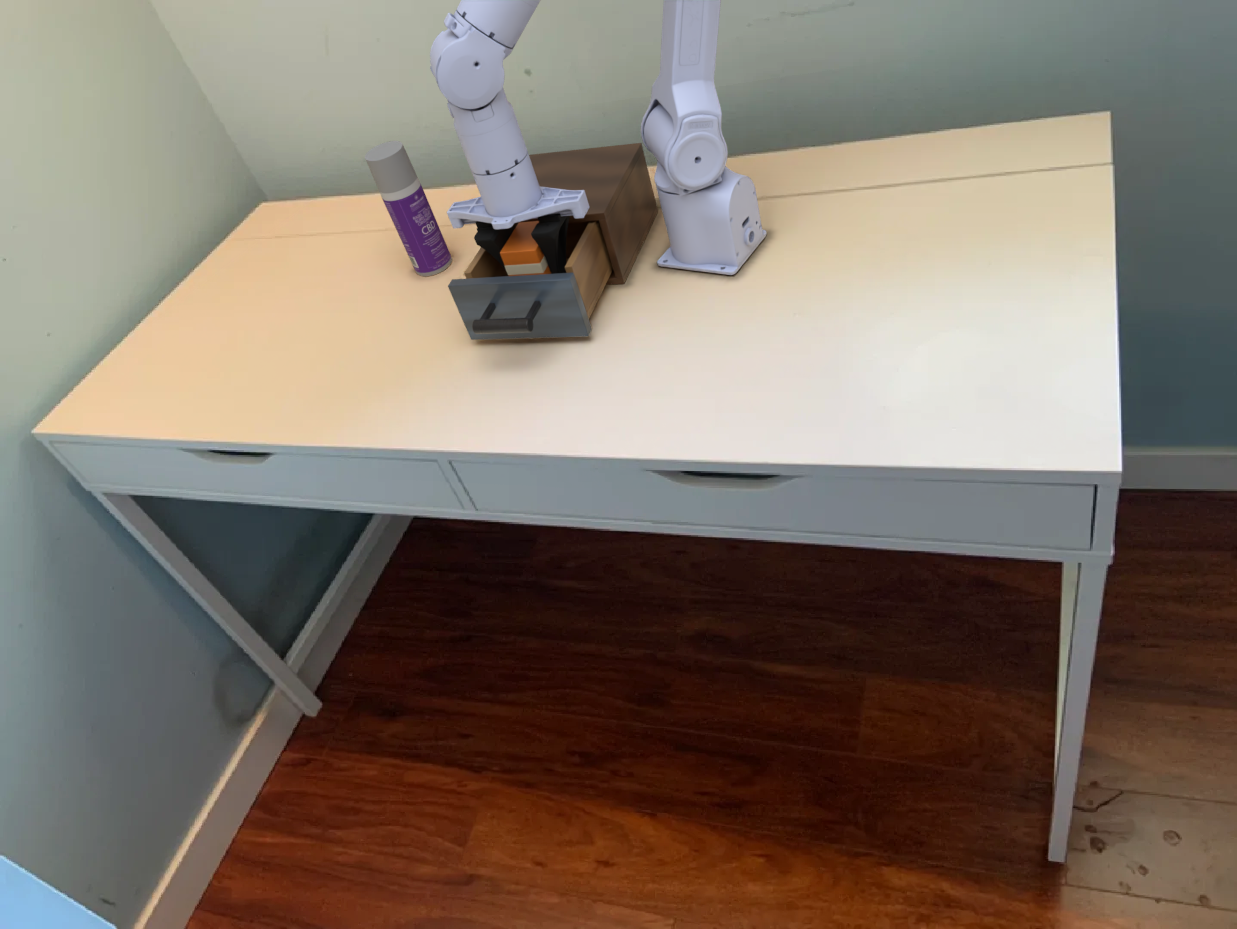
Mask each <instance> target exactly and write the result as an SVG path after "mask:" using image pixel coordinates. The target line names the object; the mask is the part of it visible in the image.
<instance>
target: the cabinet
mask: <svg viewBox="0 0 1237 929" xmlns="http://www.w3.org/2000/svg"><path fill="white" fill-rule="evenodd" d="M529 157H530V160H531V163H532V166H533V169H534V172H535V175H536V178H537V180H538V183H539V186H540V187H548V188H556V189H563V190H585V194H586V197H587V200H588V204H589V209H588V211H587V213H586V214H585V216H584V218H577V219H576V218H574V216H573V215H571V216H570V218H569V223H570V222H583V221H596V220H599V222H600V226H601V229H602V232H603V236H604V239H605V243H606V246H607V249H608V253H609V256H610V260H611V263H612V266H613V270H612V273H611V275H610V277H609V279H608V281H607V283H606V285H605V286H607V285H624V284H625V283H626V281H627V279H628V278H629V274H630V272H631V270H632V269H633V266H634V264H635V261H636V260H637V258H638V255H639V254H640V252H641V249H642V247H643V244H644V242H645V240H646V239H647V236H648V234H649V232H650V229H651V228H652V225H653V224H654V221H655V219H656V217H657V214H658V213H659V209H658V206H657V200H656V197H655V196H656V195H655V193H654V188H653V185H652V181H651V176H650V172H649V168H648V164H647V160H646V157H645V152H644V147H643V142H635V143H625V144H616V145H606V146H598V147H587V148H580V149H579V148H578V149H569V150H561V151H551V152H541V153H533V154H529ZM532 221H539V220H538V218H535V219H529V220H525V221H521V222H532ZM518 223H520V222H517V223H515V227H516V226H517V225H518Z"/></svg>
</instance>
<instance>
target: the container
mask: <svg viewBox="0 0 1237 929" xmlns="http://www.w3.org/2000/svg"><path fill="white" fill-rule="evenodd" d="M364 159H365V162H366V164H367V166H368V169H369V171H370V174H371V176H372V178H373V181H374V183H375V185H376V187H377V190H378V193H379V195H380V197H381V199H382V201H383V204H384V206H385V208H386V211H387V212H388V214H389V217H390V219H391V222H392V224H393V226H394V228H395V230H396V232H397V234H398V237H399V238H400V240H401V243H402V245H403V247H404V250H405V251H406V255H407V257H408V258H409V260H410V262H411V265H412V267H413V269H414V271H415V273H416V274H417V275H418V276H420V277H432V276H435V275H437V274H440V273H442V272H444V271H445V270H447V269H448V268H449V267H450V266H451V264H452V263H453V257H452V254H451V253H450V250H449V248H448V245H447V243H446V241H445V238H444V236H443V233H442V231H441V228H440V226H439V224H438V221H437V219H436V216H435V214H434V212H433V209H432V206H431V204H430V202H429V200H428V197H427V195H426V192H425V191H424V188H423V186H422V184H421V181H420V178H419V176H418V175H417V173H416V171H415V168H414V166H413V164H412V161H411V159H410V157H409V155H408V153H407V150H406V148H405V146H404V144H403V142H402V141H399V140H390V141H386V142H385V141H384V142H382V143H380V144H378V145H376V146H373V147H372V148H371V149H369V150H368V151H367V152H366V153H365V155H364Z"/></svg>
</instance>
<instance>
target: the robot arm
mask: <svg viewBox="0 0 1237 929" xmlns="http://www.w3.org/2000/svg"><path fill="white" fill-rule="evenodd" d="M541 1H542V0H460V1H459V4H458V5H457V7H456V10H455V11H454V13H451V12H448V13H447V14H446V16H445V18H444V20H443V24H444V26H445V27H446V29H445V30H442V31H441V32H439V33H438V34H437V36H436V37H435V39H433V42H432V44H431V46H430V52H429V58H430V59H429V63H430V67H429V70H430V72H431V73H432V75H433V78H434V79H435V81H436V84H437V87H438V89H439V91H440V93H441V94H442V95H443V97H444V98H445V99H446V100H447V103H446V104H447V105H446V106H447V109H448V112H449V114H450V116H451V118H452V119H453V128H454V131H455V133H456V136H457V138H458V140H459V143H460V146H461V149H462V151H463V155H464V156H465V159H466V162H467V165H468V168H469V170H470V172H471V175H472V178H473V180H474V183H475V185H476V187H477V190H478V193H479V195H480V196H477V197H474V198H469V199H466V200H460V201H454V202H453V203H452V204H451V206H450V207H449V208H448V209H447V211H446V215H447V217H448V219H449V222H450V225H451V227H452V229H462V228H463V227H464V226H465V225H473V224H474V225H475V226H476V233H475V234H474V236H473V239H474V241H475V244H476V245H477V246H479V248H481V247H482V248H483V249H484V250H486V251H487V252H488V253H490V254H491V255H492V256H493V257H494V258H495V259H496V260H497V261H498V262H499V263H500V264H501V265H502V267H503V268H504V269H505V265H504V263H503V260H502V257H501V255H500V252H501V250H502V248H503V247H504V245H505V244H506V242H507V240H508V239H509V237H510V236H511V234H512V232H513V231H514V229H515V223H517V222H521V221H525V220H529V219H535V218H538V220H539V223H537V225H536V226H535V228H534V230H533V231H532V233H531V236H532V238H533V239H534V240H535V241H536V243H537V244H538V246H539V247H540V249H541V251H542V252H543V254H544V256H545V258H546V260H547V263H548V266H549V269H550V272H551V274H556V273H566V270H565V265H566V264H567V260H566V238H567V229H568V223H569V218H570V216H571V215H573V216H574V218H576V219H577V218H584V216H585V214H586V213H587V211H588V209H589V204H588V200H587V197H586V194H585V190H563V189H556V188H548V187H540V186H539V183H538V180H537V178H536V175H535V172H534V169H533V166H532V163H531V160H530V157H529V155H530V154H529V151H528V148H527V145H526V142H525V139H524V137H523V134H522V131H521V127H520V125H519V122H518V119H517V116H516V112H515V109H514V107H513V105H512V103H511V102H510V101H509V100H508V97H507V94H506V92H505V88H504V85H505V76H506V75H505V68H504V60H505V59H506V58H508V57H509V56H510V55H511V54H512V52H513V50H514V49H515V47H516V46H517V43H518V41H519V39H520V38H521V36H522V34H523V32H524V31H525V29H526V28H527V25H528V24H529V22H530V20H531V18H532V16H533V15H534V13H535V11H536V10H537V8H538V6H539V4H540V2H541ZM721 4H722V0H663V3H662V20H661V22H662V24H661V40H660V41H661V42H660V57H659V58H660V59H659V60H660V62H659V74H658V75H657V77H656V79H655V80H654V82H653V84H652V86H651V93H650V94H651V95H650V100H649V104H648V107H647V108H646V111H645V113H644V114H643V117H642V119H641V124H640V138H641V140H642V144H643V145H644V147H645V149H647V151H648V152H649V153H651V154H653V156H654V158H655V159H656V160H657V162H656V168H655V173H654V176H653V177H654V184H655V188H656V192H657V196H658V199H659V200H658V201H659V204H660V208H661V212H662V216H663V217H662V218H663V221H664V225H665V228H666V233H667V237H668V241H669V247H668V248H667V249H666V250H665V252H664V253H663V254H662V255H661V256H660V258H659V259H657V261H656V264H657V266H658V267H662V268H663V267H664V268H669V269H670V268H671V269H677V270H678V269H679V270H687V271H695V272H703V273H711V274H721V275H726V276H733V275H735V274H737V273H738V271H739V270H740V269H741V267H742V266H743V265H744V264H745V263H746V262H747V260H748V259H749V258H750V257H751V255H752V254H753V253H754V251H755V250H756V249H757V248H758V247H759V245H760V244H761V243H762V241H763V240H764V239H765V238H766V236H767V234H768V233H767V230H765V229H763V225H762V220H761V213H760V207H759V202H758V196H757V190H756V186H755V183H754V181H753V180H752V178H751V177H749V176H748V175H745V174H741V173H737V172H735V171H733V170H731V169H730V168H728V166H726V165H727V162H728V155H729V154H728V153H729V152H728V150H729V149H728V145H727V142H726V139H725V137H724V135H723V130H722V120H723V112H722V107H721V104H720V100H719V96H718V91H717V88H716V85H715V73H716V64H717V63H716V62H717V51H718V50H717V49H718V39H719V28H720V16H721ZM505 270H506V269H505ZM506 272H507V271H506Z"/></svg>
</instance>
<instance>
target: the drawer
mask: <svg viewBox="0 0 1237 929" xmlns="http://www.w3.org/2000/svg"><path fill="white" fill-rule="evenodd" d="M515 228H516V227H515ZM566 259H567V264H566V265H565V270H566V273H556V274H539V275H521V276H509V275H508V274H507V272H506V270H505V269H504V268H503V267H502V265H501V264H500V263H499V262H498V261H497V260H496V259H495V258H494V257H493V256H492V255H491V254H490V253H488V252H487V251H486V250H484V249H483V248H482V247H479V249H478V251H477V253H476V254H475V255H474V257H473V258H472V260H471V261H470V263H469V265H468V266H467V267H466V269H465V270H464V272H463V274H464V277H465V278H452V279H451V280H450V282H449V283H448V285H447V288H448V290H449V292H450V296H451V297H452V299H453V302H454V304H455V307H456V309H457V311H458V313H459V315H460V317H461V320H462V323H463V324H464V327H465V329H466V331H467V334H468V336H469V338H470V341H479V340H480V341H481V340H511V339H512V340H513V339H514V340H515V339H547V338H548V339H550V338H580V337H584V338H585V337H590V335H591V333H592V330H593V328H592V324H591V322H590V318H591V315H592V313H593V311H594V309H595V307H596V305H597V304H598V301H599V299H600V297H601V295H602V293H603V291H604V289H605V287H606V286H607V285H606V283H607V281H608V279H609V277H610V275H611V273H612V270H613V266H612V263H611V260H610V256H609V253H608V249H607V246H606V243H605V239H604V236H603V232H602V229H601V226H600V222H599V220H596V221H583V222H570V223H568V229H567V238H566Z"/></svg>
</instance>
